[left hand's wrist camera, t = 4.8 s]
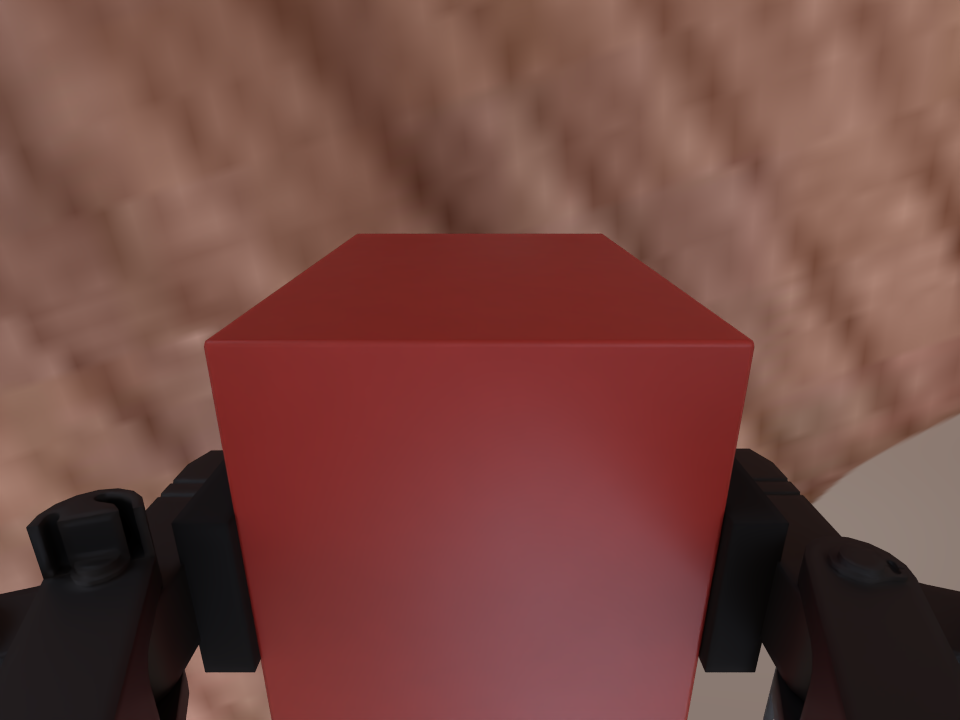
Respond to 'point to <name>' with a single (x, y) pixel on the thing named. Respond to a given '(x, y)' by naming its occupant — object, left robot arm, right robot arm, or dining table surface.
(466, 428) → the block
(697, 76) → the dining table surface
